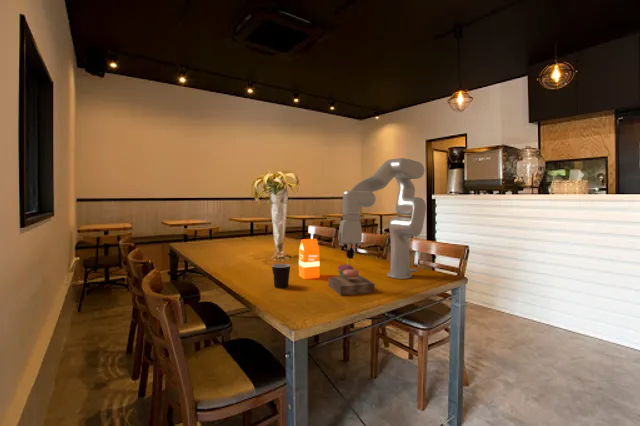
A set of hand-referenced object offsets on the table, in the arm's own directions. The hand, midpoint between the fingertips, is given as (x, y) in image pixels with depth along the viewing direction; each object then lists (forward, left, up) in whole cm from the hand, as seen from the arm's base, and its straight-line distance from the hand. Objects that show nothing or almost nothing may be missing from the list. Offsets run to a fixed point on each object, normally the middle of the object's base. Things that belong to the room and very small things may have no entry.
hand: (349, 258), depth 148 cm
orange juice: (+11, -28, -15) cm, 34 cm away
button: (-1, 0, -8) cm, 8 cm away
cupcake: (-6, -19, -15) cm, 25 cm away
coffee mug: (+28, -15, -15) cm, 35 cm away
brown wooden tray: (-1, 0, -14) cm, 14 cm away
